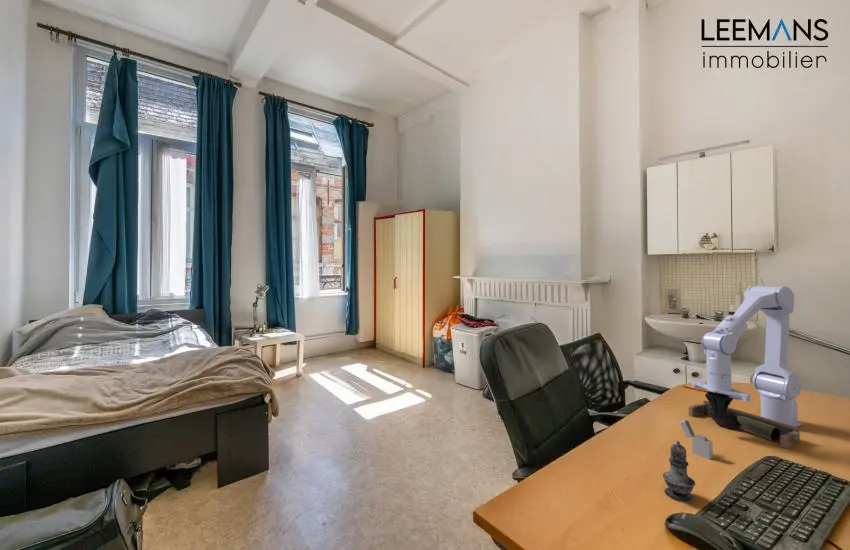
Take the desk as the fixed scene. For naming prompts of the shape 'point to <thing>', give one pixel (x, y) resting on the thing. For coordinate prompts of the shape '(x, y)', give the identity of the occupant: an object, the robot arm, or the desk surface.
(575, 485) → the desk surface
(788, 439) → the bearing cradle
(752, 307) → the robot arm
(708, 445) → the lighter
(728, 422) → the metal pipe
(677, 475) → the salt shaker
